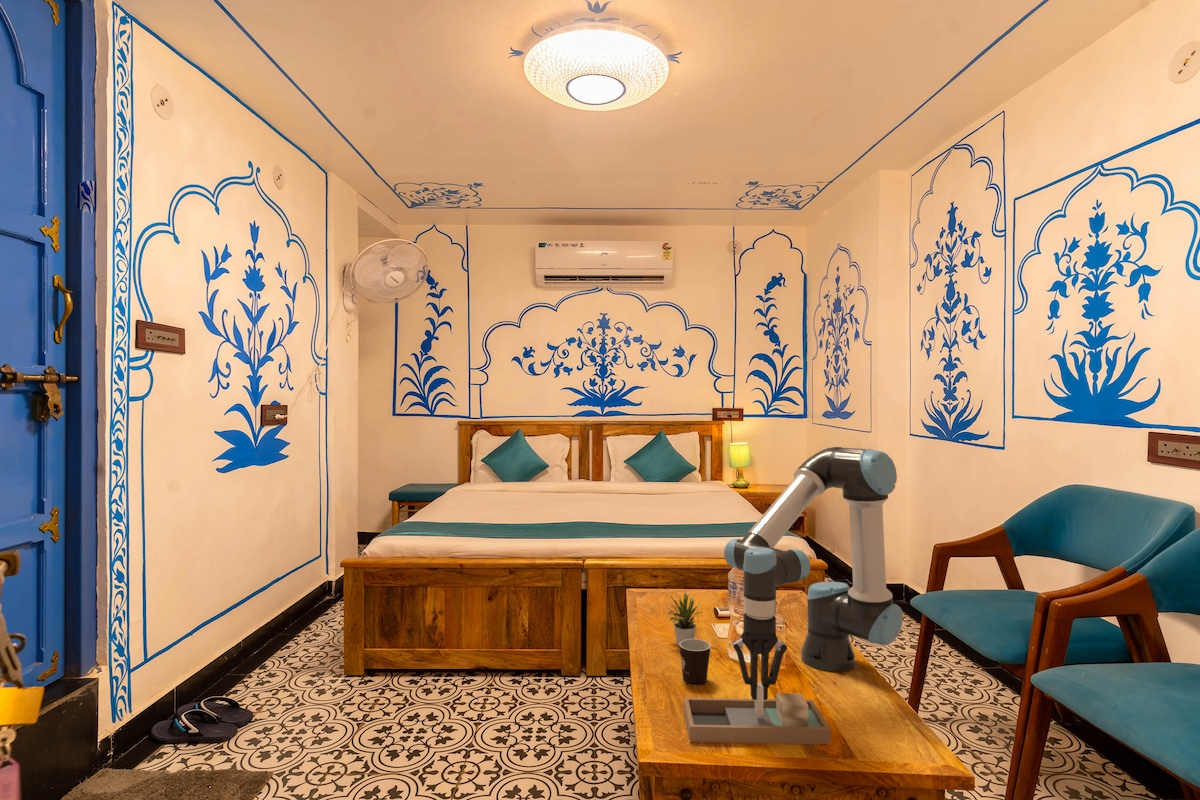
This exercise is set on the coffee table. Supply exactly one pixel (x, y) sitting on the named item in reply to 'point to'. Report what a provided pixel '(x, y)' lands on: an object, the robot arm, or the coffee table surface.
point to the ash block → (792, 709)
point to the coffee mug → (694, 660)
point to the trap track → (749, 723)
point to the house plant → (684, 619)
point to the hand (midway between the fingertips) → (759, 712)
